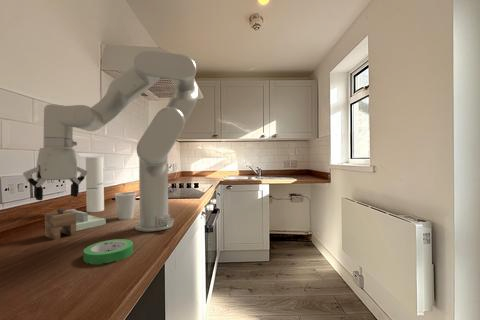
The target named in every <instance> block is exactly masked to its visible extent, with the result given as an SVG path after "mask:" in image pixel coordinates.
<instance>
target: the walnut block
mask: <svg viewBox="0 0 480 320" xmlns="http://www.w3.org/2000/svg"><path fill="white" fill-rule="evenodd" d="M60 227H61V229H60ZM61 234H65V235H67V236H70V237H72V236H76V235H77V231H76V213H74V212H69V211H65V210H64V209H63V208H57V211H56V212H55V211H54V212H51V213H50V212H49V213H44V236H45V237H46V238H49V239H51V240H60V239H61Z"/></svg>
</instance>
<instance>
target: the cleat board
mask: <svg viewBox="0 0 480 320" xmlns="http://www.w3.org/2000/svg"><path fill="white" fill-rule="evenodd" d="M64 211H69V212H74V213H76V232H77V231H81V230H86V229H91V228H96V227H99V226H104V225H106V224H107V223H106V222H107V221H106V218H103V217H99V216H95V215H90V214H88V213H89V212H87V211H85V212H84V211H82V210H77V209H76V208H72V209H66V210H64ZM60 230H61V227H60Z"/></svg>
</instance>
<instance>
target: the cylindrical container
mask: <svg viewBox="0 0 480 320" xmlns="http://www.w3.org/2000/svg"><path fill="white" fill-rule="evenodd" d="M85 170H86V171H87V174H86V176H85V187H86V189H85V192H86V196H85V197H86V199H85V200H86V202H85V203H86V213H98V212H103V211H105V195H104V194H105V191H104V190H105V189H104V187H105V186H104V185H105V184H104V157H102V156H101V157H100V156H99V157H96V156H95V157H92V156H91V157H85Z"/></svg>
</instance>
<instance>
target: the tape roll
mask: <svg viewBox="0 0 480 320" xmlns="http://www.w3.org/2000/svg"><path fill="white" fill-rule="evenodd" d="M133 242H134V241H132V240H130V239H124V238H123V239H122V238H121V239H118V238H117V239H116V238H115V239H109V240H108V239H107V240H104V241H103V240H102V241H99V242H95V243H93V244H90V245H87V247H85V248H84V249H83V252H82V253H83V254H82V255H83V257H82V258H83V262H84V263H85V262H86V263H85V264H88V263H90V264H89V265H103V264H102V263H108V264H110V263H109V262H113V261H117V260H120V261H122V260H121V259H123V258H125V259H127V258H126V257H128V256H129V257H131V256H132V255H133V254H134V243H133ZM108 250H109V251H108ZM132 253H133V254H132ZM131 254H132V255H131ZM130 255H131V256H130ZM129 257H128V258H129ZM123 260H124V259H123ZM117 262H118V261H117ZM113 263H114V262H113Z"/></svg>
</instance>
